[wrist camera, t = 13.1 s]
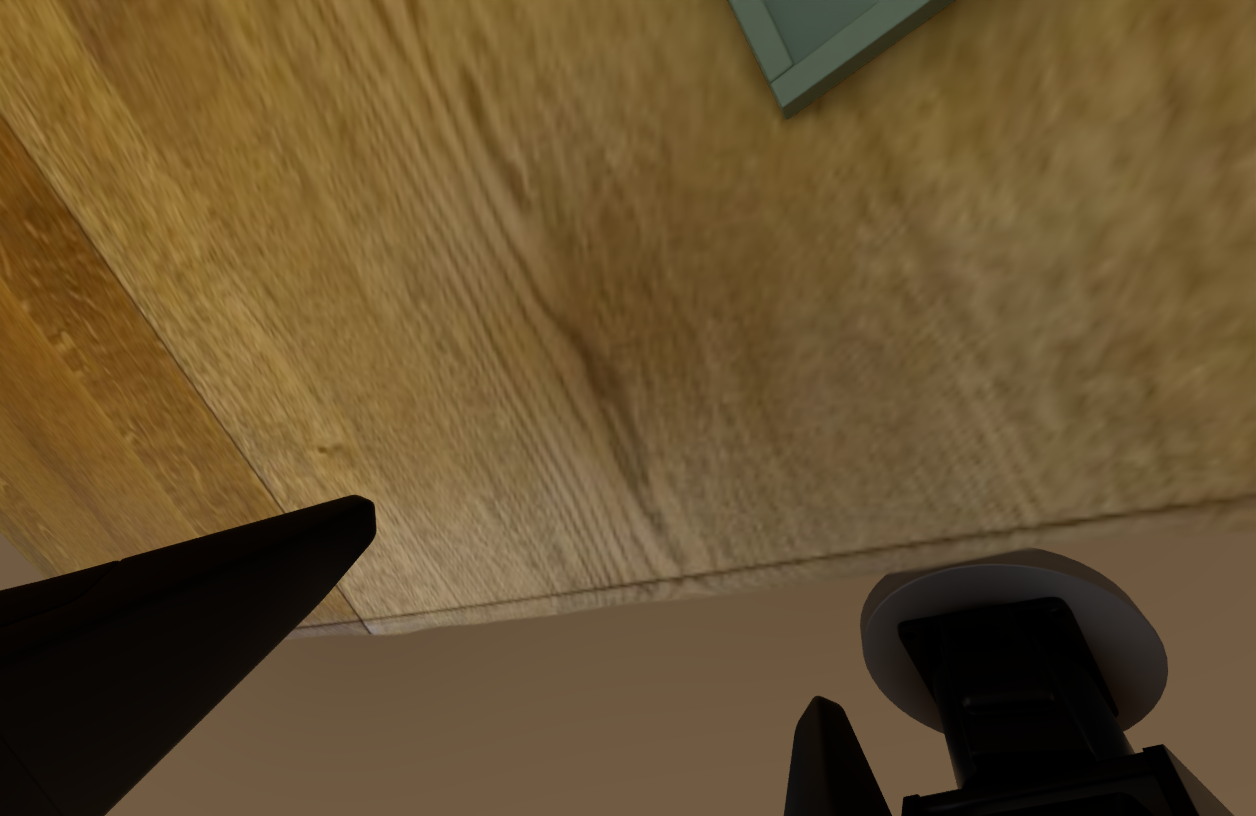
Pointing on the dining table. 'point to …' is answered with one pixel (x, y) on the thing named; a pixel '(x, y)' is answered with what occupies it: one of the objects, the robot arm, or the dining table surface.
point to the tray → (822, 40)
